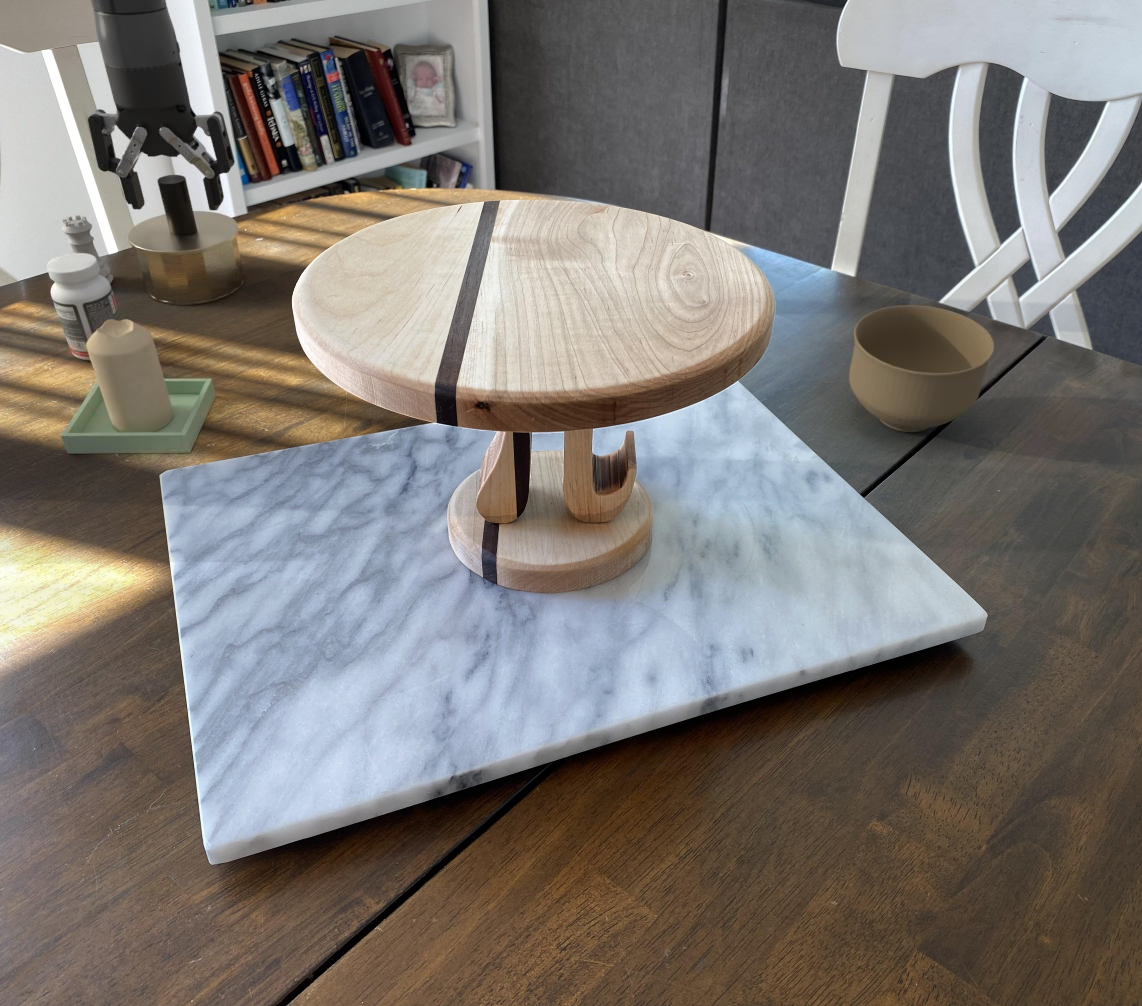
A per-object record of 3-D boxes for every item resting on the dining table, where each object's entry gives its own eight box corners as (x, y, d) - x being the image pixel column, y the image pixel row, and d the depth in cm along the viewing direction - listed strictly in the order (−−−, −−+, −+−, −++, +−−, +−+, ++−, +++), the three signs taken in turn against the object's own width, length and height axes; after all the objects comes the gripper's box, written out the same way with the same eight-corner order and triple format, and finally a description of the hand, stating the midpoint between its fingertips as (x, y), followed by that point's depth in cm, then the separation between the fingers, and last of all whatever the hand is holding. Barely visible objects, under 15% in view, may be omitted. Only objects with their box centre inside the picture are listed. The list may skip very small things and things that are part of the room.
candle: (124, 442, 86) (92, 346, 80) (104, 416, 89) (72, 322, 83) (183, 422, 89) (157, 328, 83) (161, 398, 92) (135, 305, 86)
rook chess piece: (107, 272, 115) (88, 209, 110) (119, 285, 112) (100, 221, 107) (69, 282, 113) (48, 217, 108) (81, 295, 110) (60, 230, 105)
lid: (115, 260, 105) (97, 198, 100) (148, 219, 114) (133, 160, 110) (226, 261, 105) (213, 199, 101) (249, 219, 115) (238, 161, 110)
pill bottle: (128, 333, 103) (103, 247, 97) (129, 357, 99) (103, 269, 93) (72, 340, 102) (42, 254, 96) (70, 366, 98) (39, 277, 91)
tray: (67, 453, 85) (60, 435, 84) (104, 395, 93) (98, 378, 92) (190, 453, 86) (185, 435, 85) (216, 395, 94) (212, 378, 93)
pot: (134, 305, 109) (119, 253, 105) (162, 264, 117) (149, 215, 113) (232, 305, 109) (221, 254, 105) (252, 265, 118) (243, 216, 114)
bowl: (809, 405, 96) (828, 316, 89) (902, 378, 100) (927, 292, 94) (895, 471, 87) (923, 378, 81) (992, 439, 92) (1026, 348, 86)
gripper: (57, 63, 94) (103, 219, 104) (202, 65, 95) (233, 220, 105) (84, 45, 100) (124, 195, 110) (219, 48, 101) (247, 196, 111)
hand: (177, 207), depth 107 cm, fingers open, 8 cm apart
